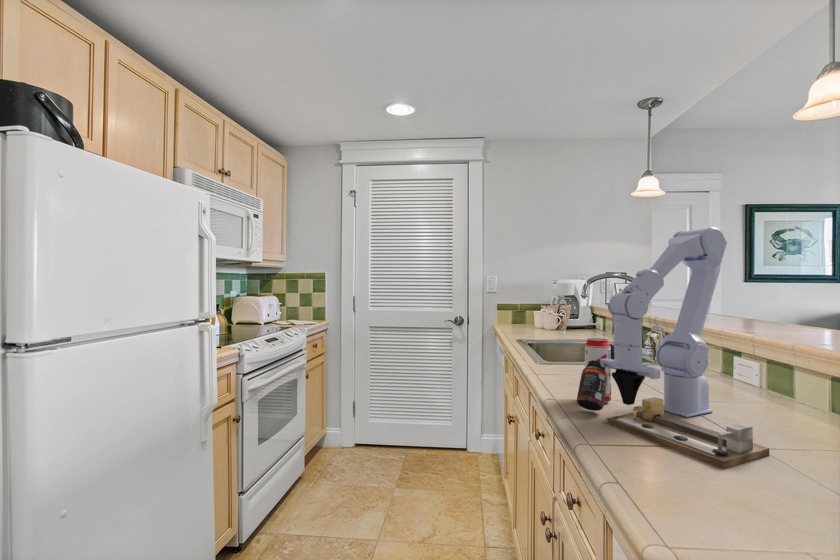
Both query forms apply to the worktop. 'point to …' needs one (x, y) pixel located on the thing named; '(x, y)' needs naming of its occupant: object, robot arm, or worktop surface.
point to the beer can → (597, 351)
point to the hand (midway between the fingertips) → (628, 403)
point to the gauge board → (695, 438)
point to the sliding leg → (650, 408)
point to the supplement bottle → (592, 386)
